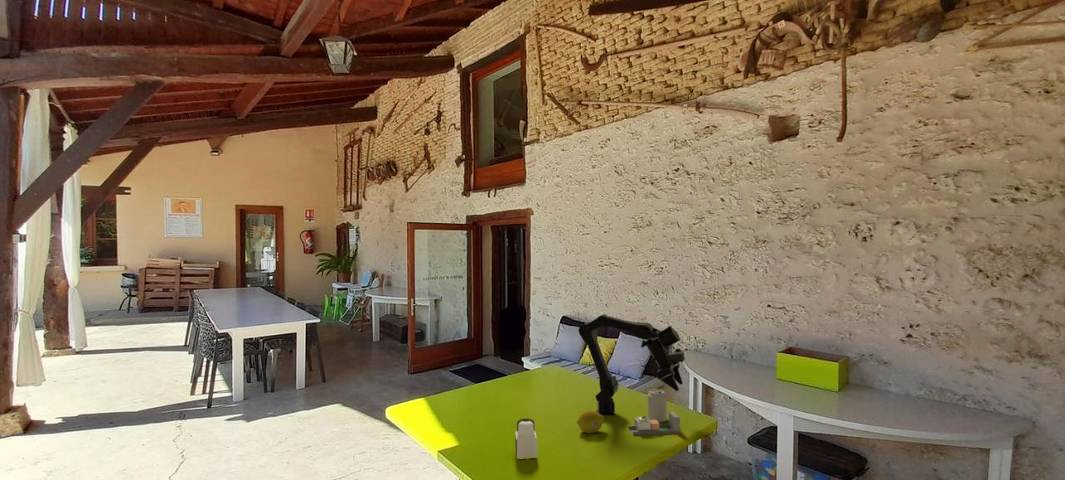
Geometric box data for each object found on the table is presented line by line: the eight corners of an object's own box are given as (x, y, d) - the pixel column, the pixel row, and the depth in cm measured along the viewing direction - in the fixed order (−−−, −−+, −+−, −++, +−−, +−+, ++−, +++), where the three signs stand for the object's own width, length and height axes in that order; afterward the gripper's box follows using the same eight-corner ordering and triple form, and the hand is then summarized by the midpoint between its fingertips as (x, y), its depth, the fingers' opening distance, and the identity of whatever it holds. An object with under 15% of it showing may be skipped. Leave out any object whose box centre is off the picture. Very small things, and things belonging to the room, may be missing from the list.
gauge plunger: (637, 433, 180) (637, 419, 180) (634, 429, 184) (634, 415, 184) (650, 433, 180) (650, 419, 180) (647, 428, 185) (646, 415, 185)
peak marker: (651, 433, 180) (651, 423, 180) (648, 428, 184) (648, 419, 184) (659, 432, 181) (659, 423, 181) (656, 428, 185) (655, 419, 185)
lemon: (578, 436, 179) (577, 415, 179) (575, 428, 187) (575, 408, 187) (606, 435, 180) (606, 414, 180) (603, 427, 187) (602, 407, 187)
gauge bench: (633, 436, 179) (633, 419, 179) (628, 429, 185) (628, 413, 185) (679, 433, 180) (679, 417, 180) (673, 427, 186) (673, 411, 186)
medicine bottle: (515, 451, 168) (514, 417, 168) (535, 450, 168) (535, 416, 168) (516, 460, 161) (515, 424, 161) (537, 459, 161) (536, 423, 161)
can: (667, 424, 189) (667, 394, 190) (648, 423, 191) (647, 393, 191) (666, 417, 197) (665, 388, 197) (647, 416, 198) (647, 387, 198)
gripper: (671, 347, 182) (694, 385, 178) (679, 338, 198) (700, 372, 195) (646, 360, 186) (668, 397, 182) (656, 350, 203) (677, 384, 199)
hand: (679, 387), depth 189 cm, fingers open, 9 cm apart
